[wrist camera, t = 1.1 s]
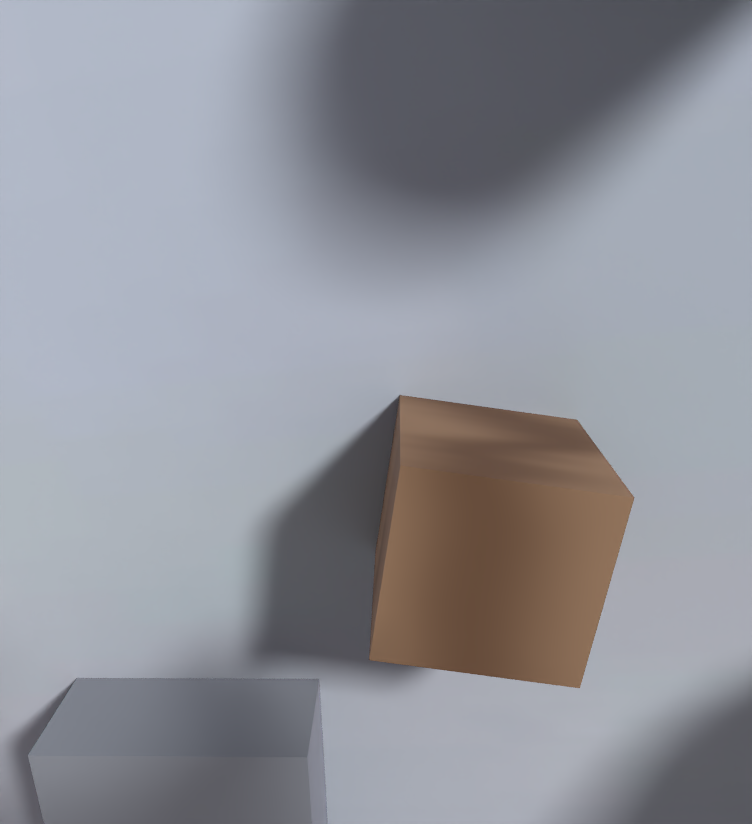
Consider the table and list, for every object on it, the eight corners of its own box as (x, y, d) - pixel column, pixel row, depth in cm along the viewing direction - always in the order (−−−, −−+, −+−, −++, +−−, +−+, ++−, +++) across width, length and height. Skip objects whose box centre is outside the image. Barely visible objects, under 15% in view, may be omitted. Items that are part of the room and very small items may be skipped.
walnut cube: (576, 419, 19) (634, 498, 15) (538, 572, 21) (579, 687, 16) (399, 394, 19) (400, 465, 15) (375, 550, 21) (369, 660, 16)
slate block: (320, 672, 23) (307, 757, 19) (330, 851, 25) (321, 953, 22) (80, 671, 23) (27, 755, 20) (115, 849, 26) (73, 949, 22)
